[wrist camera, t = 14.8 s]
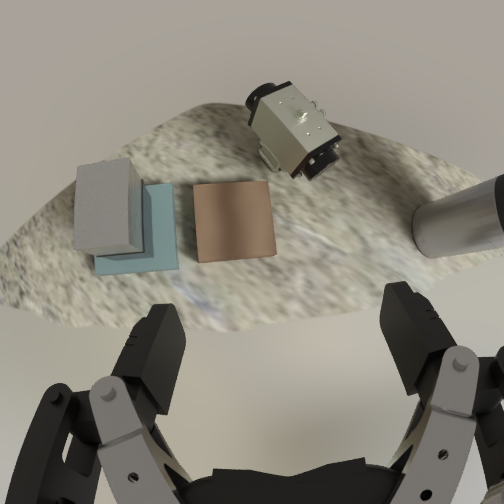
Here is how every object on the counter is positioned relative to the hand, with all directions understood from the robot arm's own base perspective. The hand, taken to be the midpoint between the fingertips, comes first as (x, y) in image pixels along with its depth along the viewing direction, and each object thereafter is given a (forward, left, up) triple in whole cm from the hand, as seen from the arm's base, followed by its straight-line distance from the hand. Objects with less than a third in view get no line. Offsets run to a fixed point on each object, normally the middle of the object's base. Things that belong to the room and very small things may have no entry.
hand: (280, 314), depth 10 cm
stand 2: (-1, -8, -24) cm, 25 cm away
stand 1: (+11, -8, -24) cm, 27 cm away
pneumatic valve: (-8, -17, -24) cm, 31 cm away
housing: (+10, -8, -21) cm, 25 cm away
